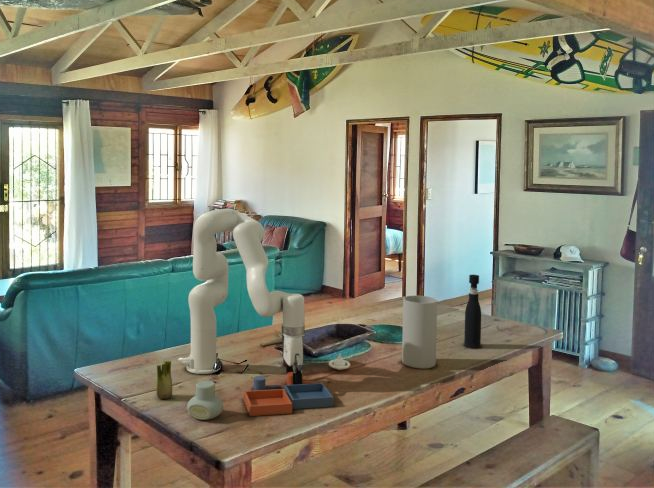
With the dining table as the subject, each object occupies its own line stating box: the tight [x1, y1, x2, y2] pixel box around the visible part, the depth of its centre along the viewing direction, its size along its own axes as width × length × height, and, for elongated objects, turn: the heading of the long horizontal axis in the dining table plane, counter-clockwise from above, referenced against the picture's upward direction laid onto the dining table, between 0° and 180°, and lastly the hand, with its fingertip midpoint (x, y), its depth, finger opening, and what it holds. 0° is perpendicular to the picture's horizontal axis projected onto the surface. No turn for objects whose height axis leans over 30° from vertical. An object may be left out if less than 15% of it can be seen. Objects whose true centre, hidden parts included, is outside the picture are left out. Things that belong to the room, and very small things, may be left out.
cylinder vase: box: [401, 295, 438, 370], centre depth 230 cm, size 12×12×25 cm
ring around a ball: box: [328, 353, 351, 371], centre depth 224 cm, size 8×6×8 cm
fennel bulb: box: [155, 360, 173, 400], centre depth 196 cm, size 6×5×12 cm
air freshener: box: [186, 380, 224, 421], centre depth 183 cm, size 11×8×10 cm
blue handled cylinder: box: [253, 375, 282, 391], centre depth 204 cm, size 9×4×4 cm, turn 100°
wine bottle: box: [463, 274, 482, 349], centre depth 252 cm, size 6×6×30 cm
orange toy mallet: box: [286, 372, 314, 385], centre depth 208 cm, size 9×4×4 cm, turn 100°
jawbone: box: [259, 329, 282, 347], centre depth 257 cm, size 9×20×2 cm, turn 161°
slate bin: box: [283, 382, 334, 410], centre depth 195 cm, size 13×12×3 cm
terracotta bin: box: [243, 388, 293, 417], centre depth 190 cm, size 13×12×3 cm
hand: (294, 379), depth 208 cm, fingers open, 9 cm apart
